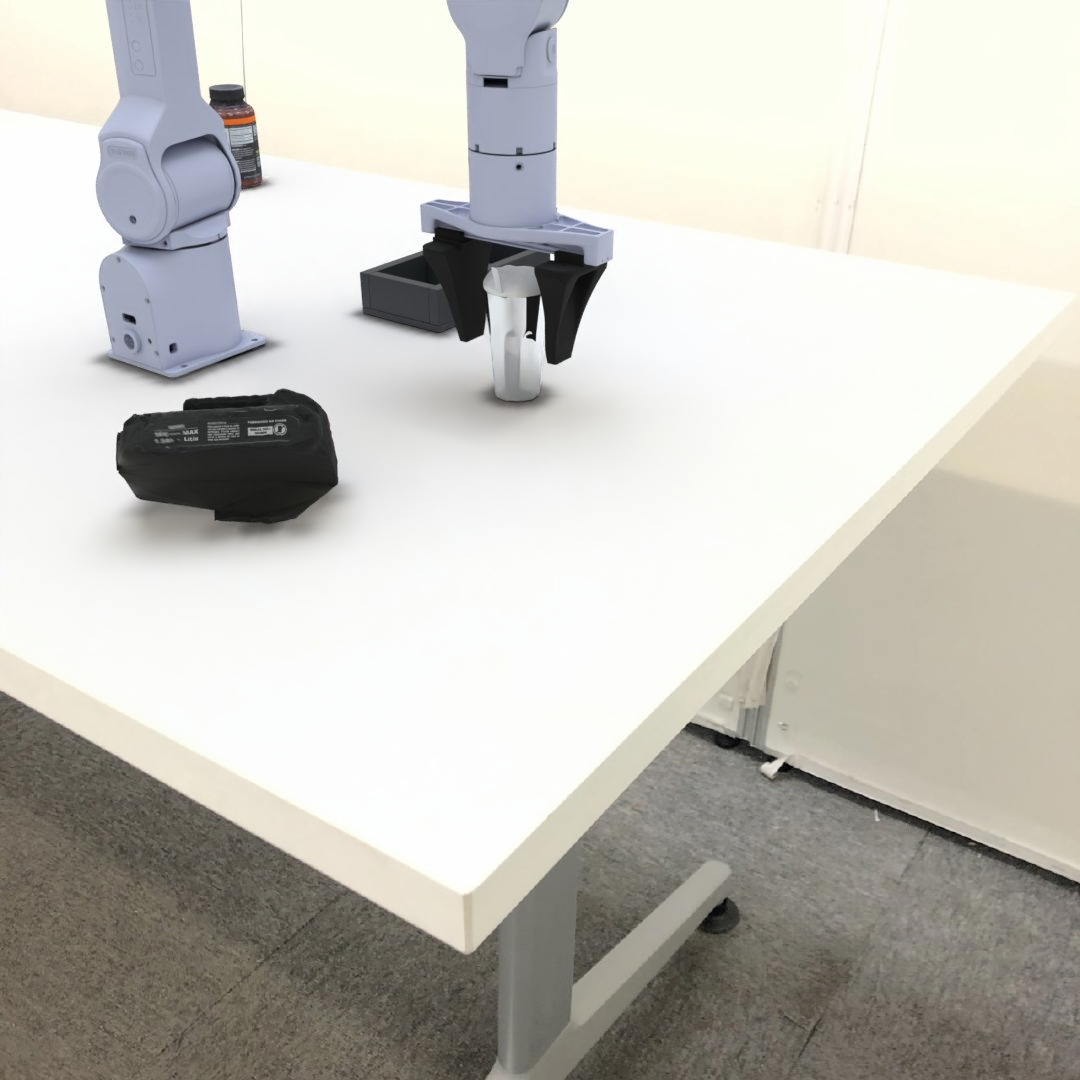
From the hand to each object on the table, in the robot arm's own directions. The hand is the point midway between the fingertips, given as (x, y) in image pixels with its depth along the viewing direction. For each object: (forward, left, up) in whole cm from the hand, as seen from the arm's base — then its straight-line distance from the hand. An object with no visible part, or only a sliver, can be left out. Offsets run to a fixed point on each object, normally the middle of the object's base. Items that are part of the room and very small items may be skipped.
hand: (514, 348), depth 79 cm
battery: (-23, +3, -4) cm, 23 cm away
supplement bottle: (+34, +67, -4) cm, 75 cm away
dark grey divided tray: (+15, +17, -3) cm, 23 cm away
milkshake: (0, 0, -4) cm, 4 cm away
